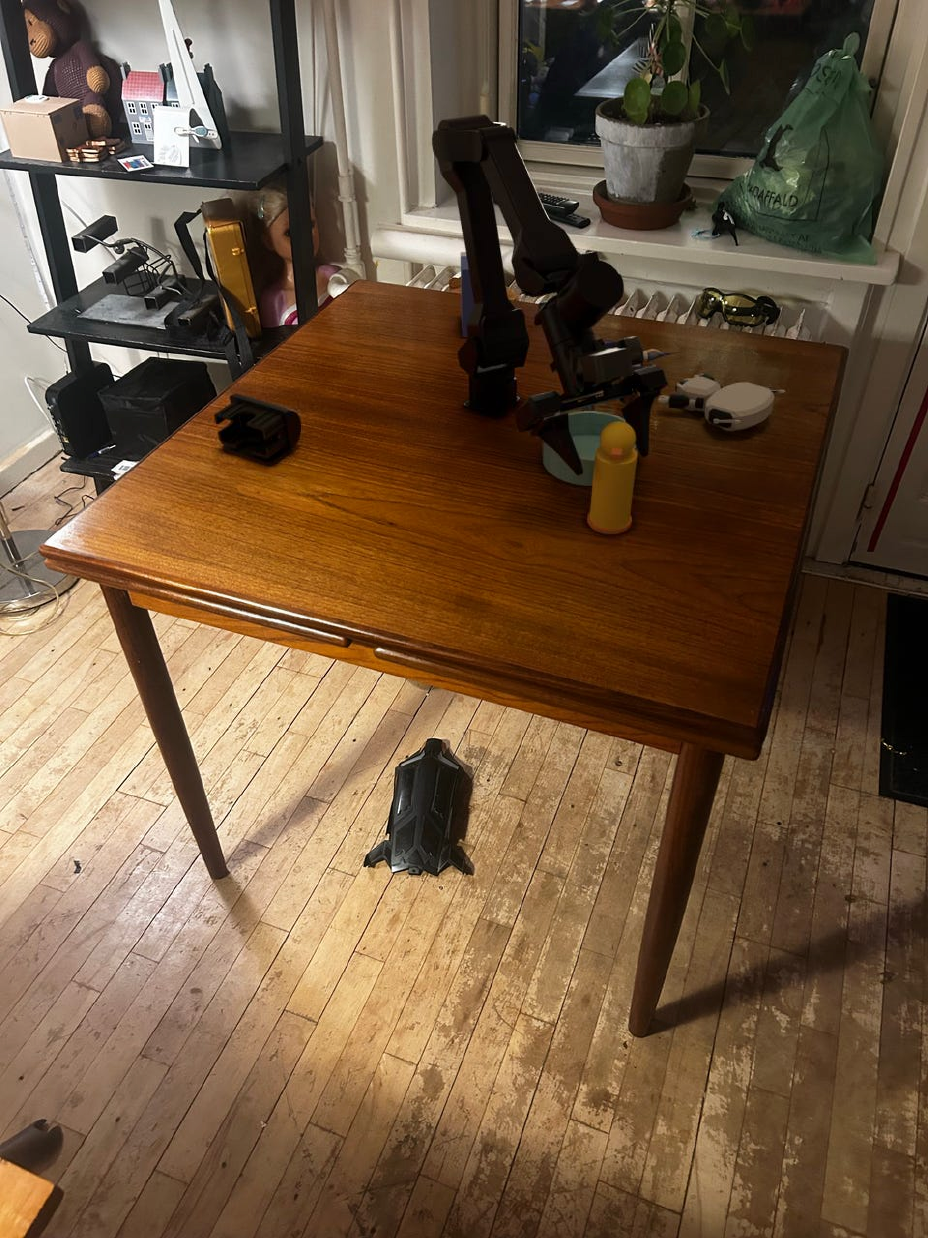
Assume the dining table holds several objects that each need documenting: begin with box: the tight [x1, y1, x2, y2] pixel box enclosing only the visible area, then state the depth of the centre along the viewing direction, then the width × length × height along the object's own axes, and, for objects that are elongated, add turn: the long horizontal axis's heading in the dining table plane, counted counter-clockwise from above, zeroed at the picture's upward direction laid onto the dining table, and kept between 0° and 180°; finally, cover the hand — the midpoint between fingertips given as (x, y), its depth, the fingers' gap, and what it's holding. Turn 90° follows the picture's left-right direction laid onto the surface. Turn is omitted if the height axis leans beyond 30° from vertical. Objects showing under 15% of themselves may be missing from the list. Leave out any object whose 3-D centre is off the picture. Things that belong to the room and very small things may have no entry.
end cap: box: [213, 393, 302, 467], centre depth 130 cm, size 10×7×7 cm
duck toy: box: [586, 421, 638, 535], centre depth 113 cm, size 6×6×14 cm
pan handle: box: [582, 399, 596, 412], centre depth 135 cm, size 10×2×2 cm, turn 176°
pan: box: [541, 410, 640, 487], centre depth 127 cm, size 13×13×4 cm
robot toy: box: [657, 373, 786, 432], centre depth 136 cm, size 12×4×15 cm
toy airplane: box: [603, 339, 682, 371], centre depth 147 cm, size 13×14×4 cm
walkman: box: [460, 251, 474, 338], centre depth 158 cm, size 8×3×12 cm, turn 1°
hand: (613, 465), depth 113 cm, fingers open, 9 cm apart
